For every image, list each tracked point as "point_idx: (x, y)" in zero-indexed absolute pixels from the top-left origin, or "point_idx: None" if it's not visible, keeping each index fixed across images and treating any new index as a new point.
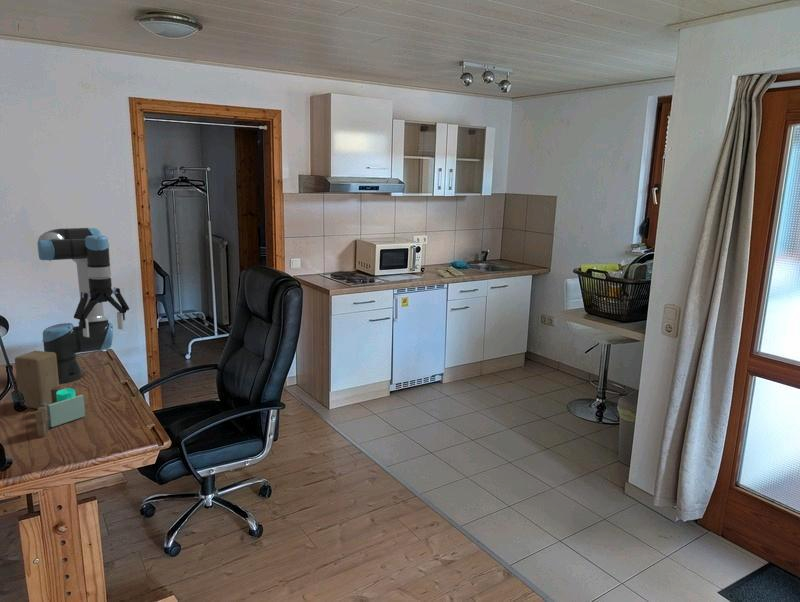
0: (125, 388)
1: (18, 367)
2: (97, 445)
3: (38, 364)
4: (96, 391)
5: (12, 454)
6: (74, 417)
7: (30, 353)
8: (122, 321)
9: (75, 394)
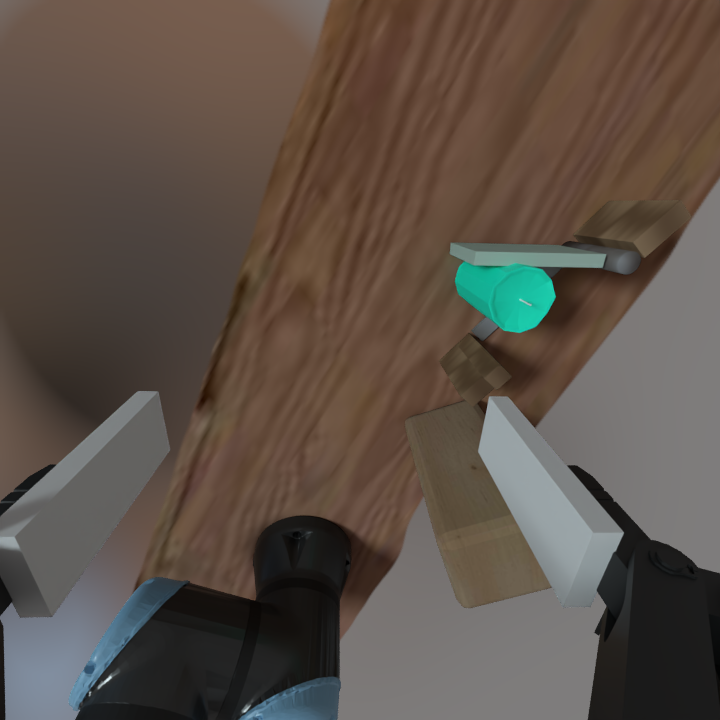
0: (228, 364)
1: None
2: None
3: None
4: (302, 407)
5: None
6: (489, 244)
7: (505, 587)
8: (92, 443)
9: (486, 283)
